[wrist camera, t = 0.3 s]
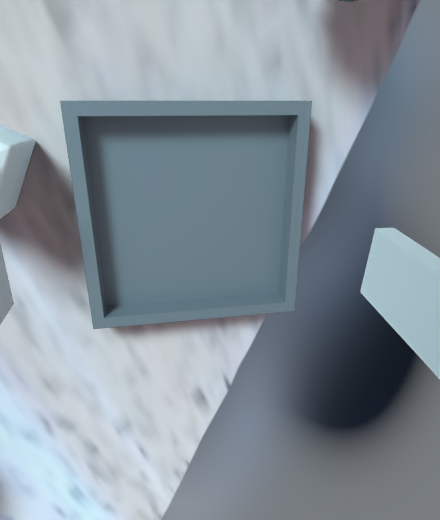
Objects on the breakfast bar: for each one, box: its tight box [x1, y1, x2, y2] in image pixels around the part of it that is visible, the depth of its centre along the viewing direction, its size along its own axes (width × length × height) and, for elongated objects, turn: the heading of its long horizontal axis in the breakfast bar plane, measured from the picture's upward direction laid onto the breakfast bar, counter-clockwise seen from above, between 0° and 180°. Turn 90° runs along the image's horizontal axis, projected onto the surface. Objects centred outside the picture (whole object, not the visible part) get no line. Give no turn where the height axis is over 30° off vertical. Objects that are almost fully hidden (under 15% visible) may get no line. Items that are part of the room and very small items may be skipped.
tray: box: [60, 101, 312, 329], centre depth 39 cm, size 22×22×4 cm
